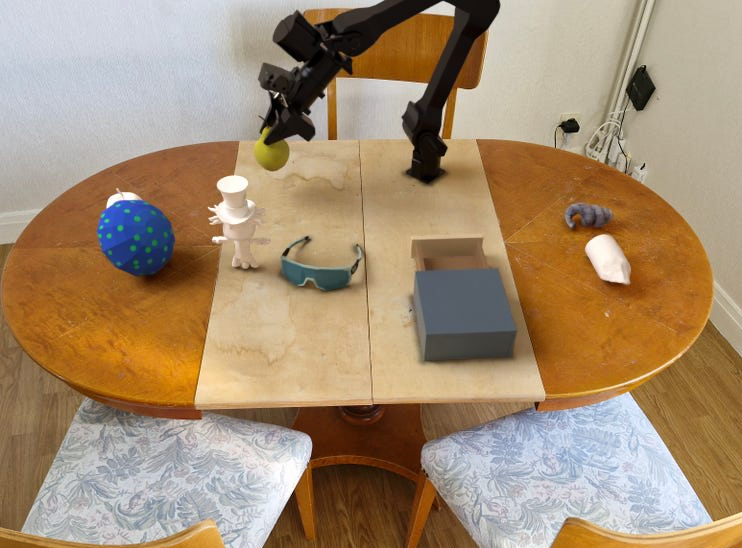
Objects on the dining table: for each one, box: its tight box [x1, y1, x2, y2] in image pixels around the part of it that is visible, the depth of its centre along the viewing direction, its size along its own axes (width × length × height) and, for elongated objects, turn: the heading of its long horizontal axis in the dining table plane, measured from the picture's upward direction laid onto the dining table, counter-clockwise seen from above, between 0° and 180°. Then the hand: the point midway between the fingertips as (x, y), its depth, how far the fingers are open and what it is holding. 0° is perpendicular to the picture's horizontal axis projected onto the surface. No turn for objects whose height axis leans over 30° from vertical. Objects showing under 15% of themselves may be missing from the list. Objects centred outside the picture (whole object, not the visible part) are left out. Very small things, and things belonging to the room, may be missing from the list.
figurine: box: [207, 175, 271, 270], centre depth 121 cm, size 10×8×18 cm
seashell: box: [563, 202, 615, 230], centre depth 138 cm, size 5×5×10 cm
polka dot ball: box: [96, 199, 176, 278], centre depth 124 cm, size 14×14×15 cm
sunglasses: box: [280, 235, 362, 292], centre depth 128 cm, size 14×15×5 cm
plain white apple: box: [106, 187, 143, 209], centre depth 133 cm, size 7×7×8 cm
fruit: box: [253, 115, 290, 172], centre depth 135 cm, size 7×7×12 cm
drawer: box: [409, 233, 489, 271], centre depth 125 cm, size 16×13×4 cm
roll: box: [584, 234, 632, 286], centre depth 127 cm, size 6×12×6 cm, turn 8°
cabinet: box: [412, 267, 518, 362], centre depth 117 cm, size 16×15×6 cm
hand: (263, 139), depth 134 cm, fingers closed on fruit, 4 cm apart
